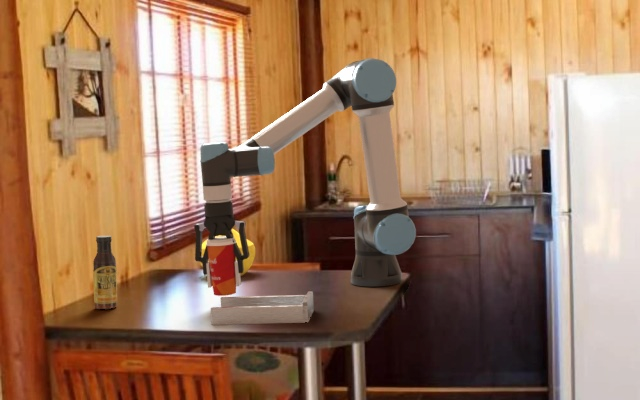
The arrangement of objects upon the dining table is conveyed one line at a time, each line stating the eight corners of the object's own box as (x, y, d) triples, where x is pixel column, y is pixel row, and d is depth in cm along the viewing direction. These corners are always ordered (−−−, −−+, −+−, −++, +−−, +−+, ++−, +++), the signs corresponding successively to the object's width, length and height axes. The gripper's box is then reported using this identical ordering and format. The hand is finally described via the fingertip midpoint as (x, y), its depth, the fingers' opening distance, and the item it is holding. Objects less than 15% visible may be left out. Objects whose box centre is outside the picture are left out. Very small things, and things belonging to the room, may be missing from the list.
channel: (313, 310, 243) (312, 291, 242) (308, 322, 230) (307, 302, 229) (222, 312, 245) (221, 293, 245) (211, 324, 232) (210, 304, 231)
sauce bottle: (97, 311, 253) (92, 238, 251) (92, 307, 259) (87, 236, 257) (121, 308, 256) (116, 236, 254) (115, 304, 262) (110, 233, 260)
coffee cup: (210, 291, 256) (205, 237, 255) (240, 289, 257) (236, 234, 255) (209, 297, 248) (204, 241, 246) (240, 295, 248) (235, 239, 247)
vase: (225, 268, 313) (222, 211, 311) (268, 272, 302) (265, 213, 300) (186, 278, 298) (183, 218, 296) (230, 282, 287) (227, 220, 285)
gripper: (257, 197, 252) (263, 281, 255) (184, 201, 254) (191, 284, 257) (252, 200, 245) (259, 287, 247) (177, 204, 247) (184, 290, 249)
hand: (224, 285), depth 252 cm, fingers closed on coffee cup, 7 cm apart
